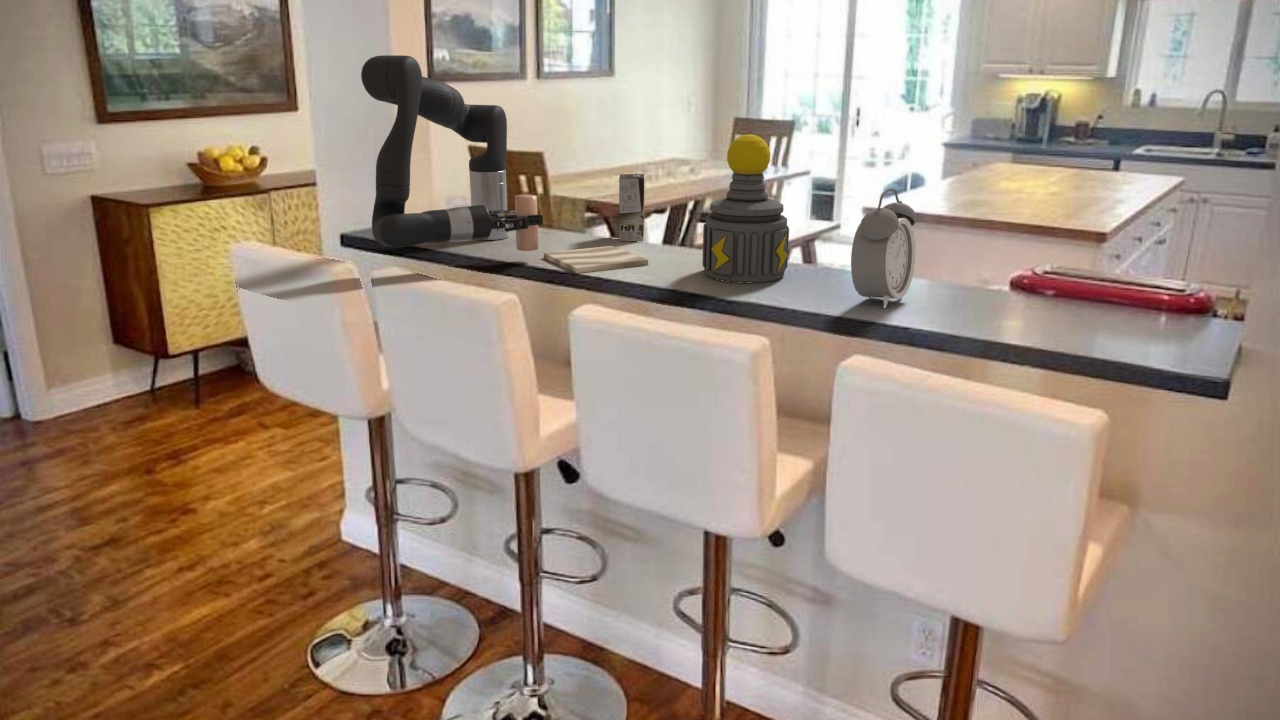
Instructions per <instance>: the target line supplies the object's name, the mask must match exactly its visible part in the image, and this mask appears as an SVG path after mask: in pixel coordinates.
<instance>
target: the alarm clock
mask: <svg viewBox="0 0 1280 720" xmlns="http://www.w3.org/2000/svg"><path fill="white" fill-rule="evenodd" d="M888 192H893V193H894V196H895V201H896V202H891V203H888V204H885V205H884V206H883V207H882V203H883V199H884V196H885V195H886V194H887V193H888ZM877 205H878V206H877V208H875V209H872V210H870V211H869V212H866V213H865V215H864V216H863V218H861V221H860V223H859V224H858V226H857V228H856V230H855V233H854V237H853V242H852V247H851V253H850V255H851V256H850V268H851V269H850V271H851V279H852V283H853V287H854V288H855V291H856V292H857V294H858V295H859V296H861V297H863V298H867V299H868V298H870V299H871V298H880V299H882V298H883V307H884V306H886V307H887V306H888V303H889V300H890V299H895V300H896V299H897V300H898V299H900V298H902V299H903V298H904V296H905V295H906V294H907V293H908V291H909V289H910V286H911V283H912V280H913V276H914V272H915V270H914V269H915V265H916V239H915V233H914V229H913V226H914V225H915V224H916V223H917V218H916V217H917V216H916V211H915V210H914V209H913V207H911V206H910V205H909V204H906V203H903V201H902V200H900V199H899V195H898V192H897V190H896V189H894V188H887V189H886V190H884V191H883V192H882V193H881V195H880V197H879V201H878V204H877Z"/></svg>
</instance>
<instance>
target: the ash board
mask: <svg viewBox="0 0 1280 720" xmlns="http://www.w3.org/2000/svg"><path fill="white" fill-rule="evenodd" d="M543 259H545V260H547V259H548V260H547V261H550V262H552V263H554V264H556V265H558V266H560V267H563V268H565V270H566V269H567V270H569V271H571V272H573V273H575V274H582V273H589V272H592V273H593V272H598V271H599V272H600V271H607V270H616V269H624V268H625V269H626V268H633V267H642V266H649V259H648V258H645V257H642V256H640V255H636V254H634V253H632V252H629V251H627V250H624V249H621V248H619V247H616V246H614V245H606V246H597V247H589V248H588V247H587V248H579V249H578V248H577V249H569V250H567V249H566V250H559V251H550V252H543Z"/></svg>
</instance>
